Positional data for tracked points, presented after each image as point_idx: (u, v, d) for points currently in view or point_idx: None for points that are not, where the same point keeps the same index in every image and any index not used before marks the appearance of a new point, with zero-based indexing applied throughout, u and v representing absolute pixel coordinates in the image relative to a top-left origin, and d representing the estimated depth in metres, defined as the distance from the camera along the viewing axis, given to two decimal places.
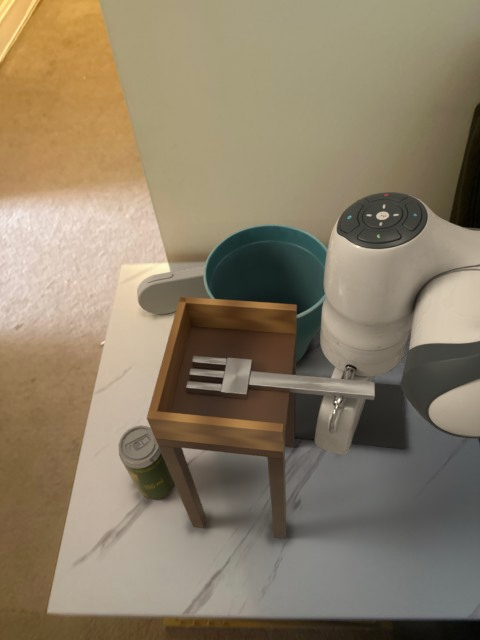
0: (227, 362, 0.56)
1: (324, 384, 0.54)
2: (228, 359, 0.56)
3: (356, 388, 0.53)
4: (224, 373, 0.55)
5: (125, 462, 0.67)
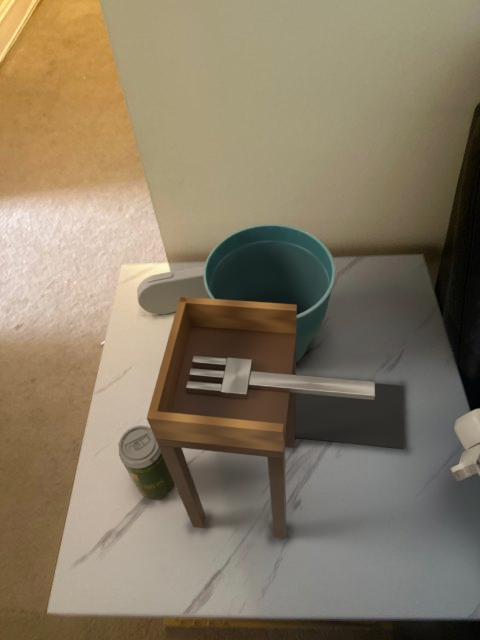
0: (227, 362, 0.56)
1: (324, 384, 0.54)
2: (228, 359, 0.56)
3: (356, 388, 0.53)
4: (224, 373, 0.55)
5: (125, 462, 0.67)
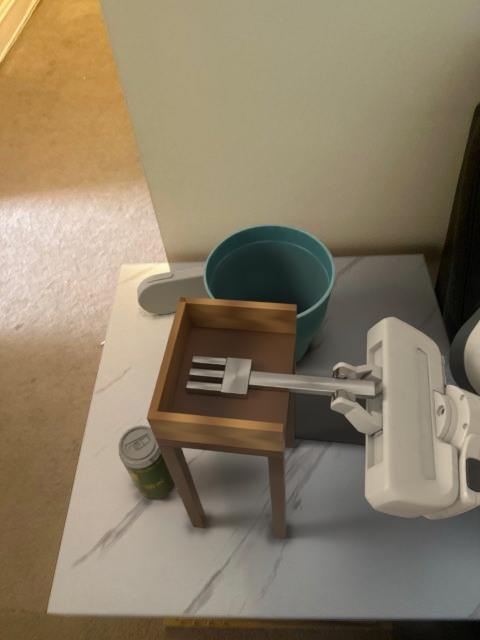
0: (227, 362, 0.56)
1: (324, 384, 0.54)
2: (228, 359, 0.56)
3: (356, 388, 0.53)
4: (224, 373, 0.55)
5: (125, 462, 0.67)
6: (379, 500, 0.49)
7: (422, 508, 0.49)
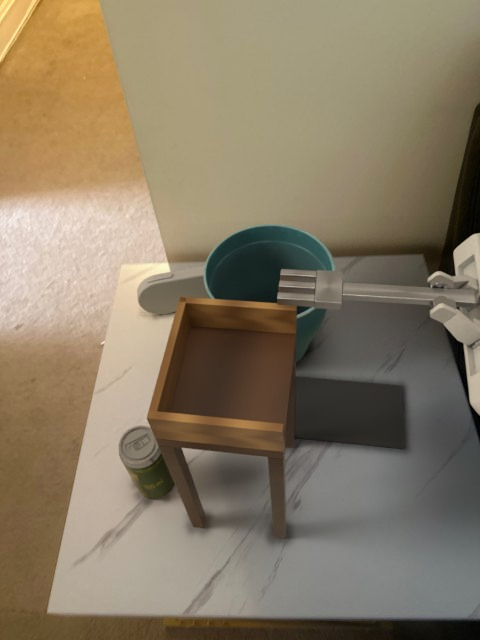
0: (317, 274, 0.54)
1: (421, 293, 0.52)
2: (318, 271, 0.54)
3: (456, 296, 0.52)
4: (315, 284, 0.54)
5: (125, 462, 0.67)
6: None
7: None
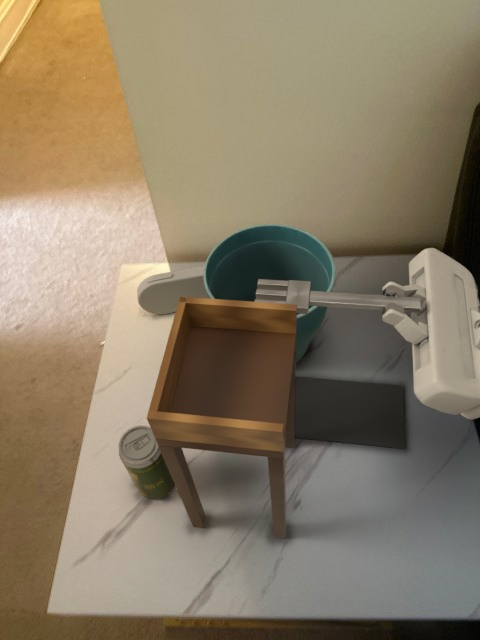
0: (289, 283, 0.64)
1: (376, 300, 0.62)
2: (289, 281, 0.64)
3: (404, 303, 0.61)
4: (287, 292, 0.63)
5: (125, 462, 0.67)
6: (427, 393, 0.57)
7: (465, 400, 0.57)
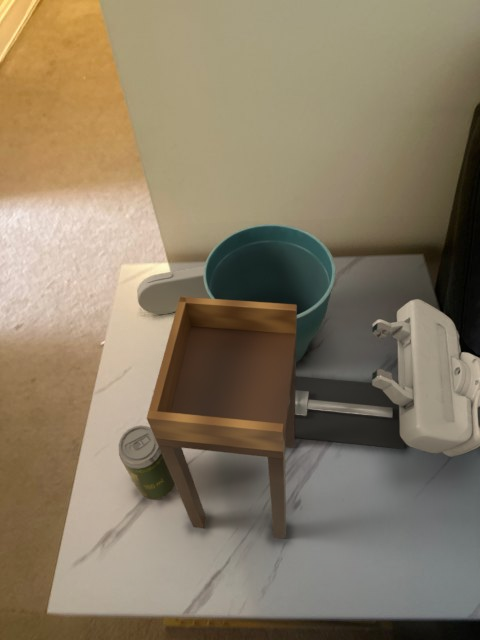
0: None
1: (358, 409, 0.80)
2: None
3: (380, 412, 0.80)
4: None
5: (125, 462, 0.67)
6: (411, 436, 0.64)
7: (444, 442, 0.64)
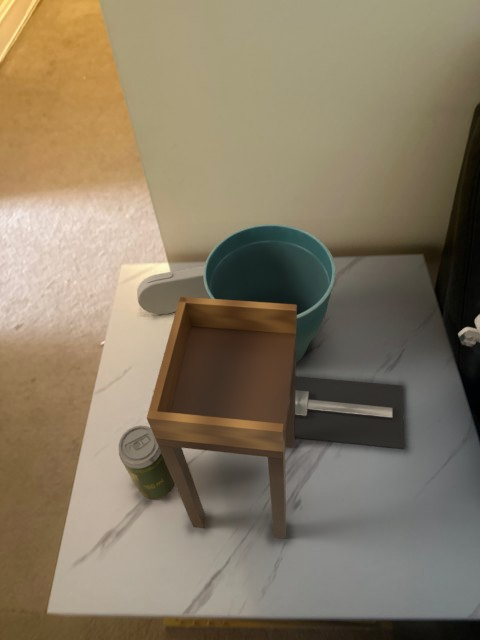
0: None
1: (358, 409, 0.80)
2: None
3: (380, 412, 0.80)
4: None
5: (125, 462, 0.67)
6: None
7: None
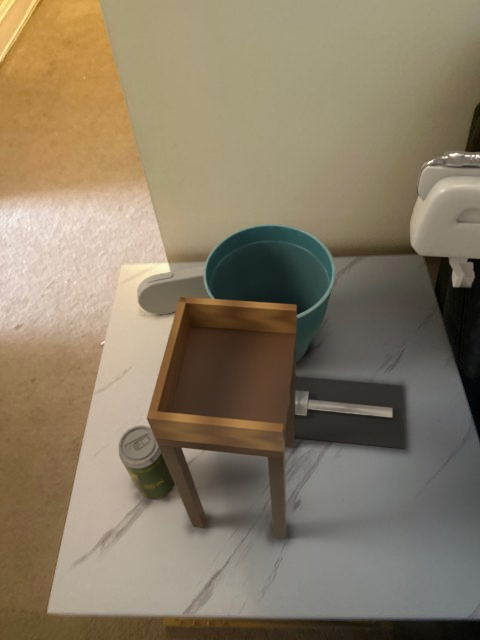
0: None
1: (358, 409, 0.80)
2: None
3: (380, 412, 0.80)
4: None
5: (125, 462, 0.67)
6: None
7: None
